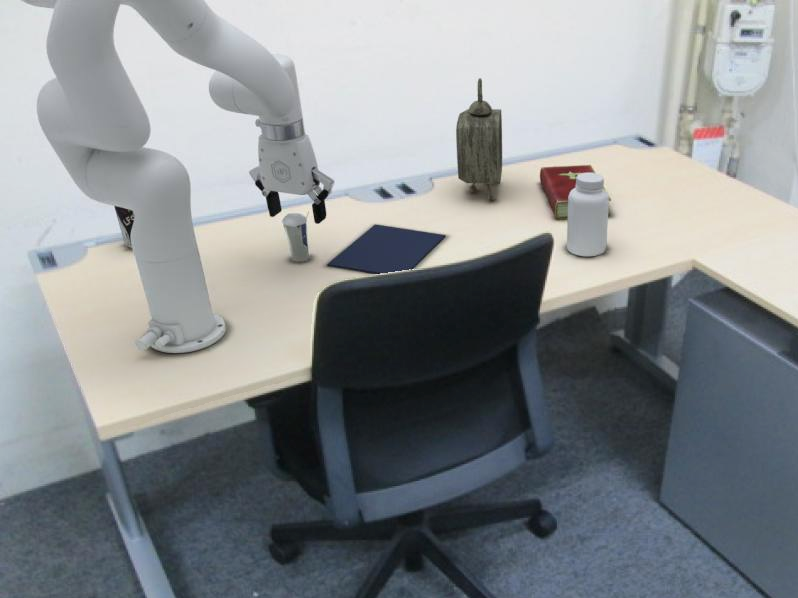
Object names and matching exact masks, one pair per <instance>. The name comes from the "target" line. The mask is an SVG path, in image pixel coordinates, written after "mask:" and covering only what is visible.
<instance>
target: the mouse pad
mask: <svg viewBox="0 0 798 598" xmlns="http://www.w3.org/2000/svg"><path fill="white" fill-rule="evenodd" d="M445 238H446V234H441V233H436V232H435V233H434V232H428V231H421V230H416V229H415V230H414V229H409V228H401V227H396V226H389V225H382V224H374V225H373V226H371V227H369V229H368V230H366V231H365V232H364V233H363V234H361V235H360V236H359V237H358V238H357V239H356V240H354V241H353V242H352V243H351V244H350V245H348V246H347V247H346V248H345V249H343V250H342V251H341V252H340V253H339V254H338V255H336V256H335V257H334V258H332V259H331V260H330V261H329V262H328V263H326V265H327V266H328V267H333V268H339V269H345V270H350V271H356V272H362V273H369V274H374V275H379V274H380V273H388V272H395V271H402V270H409V269H412V270H413V269H414V268H415V267H416V266H418V264H419V263H420V262H421V261H422V260H423V259H424V258H425V257H427V256H428V255H429V253H430V252H431V251H433V250H434V249H435V247H437V245H439V244H440V243H441V242H442V241H443V240H444V239H445Z"/></svg>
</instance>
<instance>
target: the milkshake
mask: <svg viewBox="0 0 798 598" xmlns="http://www.w3.org/2000/svg"><path fill="white" fill-rule="evenodd" d="M309 213H310V212H309V211H307V215H304V214H302V213H299V212H294V213H293V212H291V213H287V214H286V215H285V216H284V217H283V218H282V221H281V222H282V225H283V228H284V229H283V230H284V233H285V236H286V240H287V245H288V249H289V253H290V257H291V260H292V261H293V262H294V263H305V262H306V261H308V260H309V258H310V251H309V237H308V236H309V234H308V216H309Z"/></svg>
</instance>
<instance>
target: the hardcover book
mask: <svg viewBox="0 0 798 598" xmlns="http://www.w3.org/2000/svg"><path fill="white" fill-rule="evenodd" d="M581 173H596V171H595V170H594V168H593V166H592V165H591V164H579V165H559V166H558V165H557V166H542V167H541V168H540V169H539V182H540V184H541V187H542V189H543V191H544V194H545V196H546V198H547V200H548V202H549V205H550V207H551V209H552V212H553V214H554V217H555V219H556V220H559V221H560V220H568V196H569V193H570V192H571V190H573V189H574V188H576V177H577V175H579V174H581ZM603 189H604V190H605V191H606V192H607V190H606V188H605V186H604V185H603ZM611 201H612V198H611V197H610V196H609V202H611ZM609 217H611V214H610V212H609V211H608V218H609Z"/></svg>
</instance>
